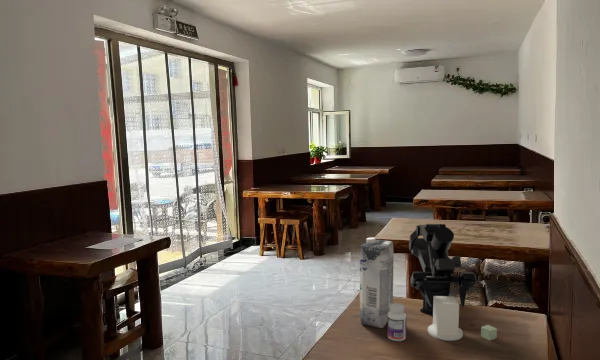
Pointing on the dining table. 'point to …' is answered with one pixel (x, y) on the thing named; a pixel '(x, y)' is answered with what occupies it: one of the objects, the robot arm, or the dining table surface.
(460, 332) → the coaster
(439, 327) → the cover
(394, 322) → the pill bottle
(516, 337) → the dining table surface
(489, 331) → the block
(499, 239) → the dining table surface
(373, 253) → the juice carton
